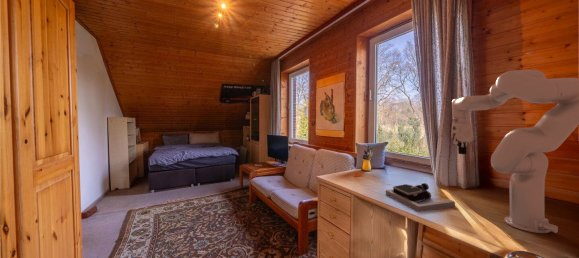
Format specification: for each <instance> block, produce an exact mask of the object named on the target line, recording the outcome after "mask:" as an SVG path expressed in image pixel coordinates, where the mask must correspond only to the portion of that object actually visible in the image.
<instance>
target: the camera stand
mask: <svg viewBox="0 0 579 258" xmlns="http://www.w3.org/2000/svg"><path fill="white" fill-rule="evenodd" d="M385 194H386V195H387V194H388V195H387V196H389V195H390V196H392V197H393V198H392V197H391V198H392V199H394V198H395V200H396V199H397V200H396V201H398V200H399V201H398V202H400V203H402V204H404V205H406V206H407V205H408V207H409V206H410V209H413V210H415V211H416V212H427V211H432V210H441V209H448V208H453V207H454V208H455V207H456V201H454V200H444V201H436V202H428V203H423V204H420V203H418V202H413V201H411V200H409V199H407V198H405V197H403V196H401V195H399V194H396V193H394V190H393V189H385ZM390 196H389V197H390Z"/></svg>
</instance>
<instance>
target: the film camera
mask: <svg viewBox="0 0 579 258" xmlns="http://www.w3.org/2000/svg"><path fill="white" fill-rule="evenodd" d="M392 188H393V190H394V193H396V194H399V195H401V196H403V197H405V198H407V199H409V200H411V201H413V202H415V203H419V202H423V201H424V200H428V199H431V198H432V193H431V192H430V191H429V189H430V187H429V185H428V183H426V182H424V183H421V184H416V185H412V184H411V185H410V184H401V185H395V186H392Z"/></svg>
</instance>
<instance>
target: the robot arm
mask: <svg viewBox="0 0 579 258" xmlns="http://www.w3.org/2000/svg"><path fill="white" fill-rule="evenodd" d="M514 98H517V99H519V100H521V101H524V102H527V103H530V104H556V105H554V107H551V108H550V109H549V110H548V111H546V112H545V113H544V114H543V115H542V116H541V118H540V119H539V120H538V121H537V123H536V124H535V125H532V126H531V127H520V128H519V127H518V128H515V129H512V130H511V131H509V132H508V133H506V134H505V135H504V137H503V138H502V139H501V141H500V143H499V144H498V145H497V147H496V148H495V150H494V152H493V153H492V154H491V156H490V165H491V167H492V168H493V169H494V171H496V172H498V173H500V174H507V175H511V176H510V179H509V215H508V216H505V217H504V222H505V223H506V224H507V225H509V226H511V227H513V228H516V229H519V230H522V231H525V232H529V233H538V234H549V233H551V232H552V233H555V234H557V233H558V231H559V226H557V225H554V224H551V223H550V222H549V219H548V218H546V217H545V214H546V213H545V187H546V186H545V185H546V183H545V182H546V181H545V180H546V177H547V176H546V175H547V171H548V168H549V159H548V157H547V156H546V154H545V153H550V152H553V151H556V150H557V149H558V148H559V147H561V146H562V144H563V143H564V142H565V141H566V140H568V139H567V138H569V136H570V135H571V134H572V133H573V132H574V131H575V129H576V128H577V127H578V126H579V78H578V77H561V78H560V77H558V78H547V76H546V75H545V73H543V72H542V71H540V70H537V69H515V70H507V71H505V72H503V73H501V75H499V76H498V77H497V79H496V81H495V83H494V84H492V85H491V86H490V88H489V93H488V94H485V95H469V96H468V95H467V96H463V97H459V98H454V99H452V101H451V111H452V113H451V114H452V115H451V116H452V117H451V118H452V124H451V133H450V135H451V137H450V138H451V141H452V143H453V144H454V145H456V147H457V151H458V152H457V153H458V155H459V154H460V155H467V147H468V144H470V143H472V142H473V141H474V129H473V126H472V122H471V113H470V112H473V111H487V110H491V109H495V108H497V107H500V106H502V105H504V104H505V103H506V102H507V101H508V100H510V99H514Z"/></svg>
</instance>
